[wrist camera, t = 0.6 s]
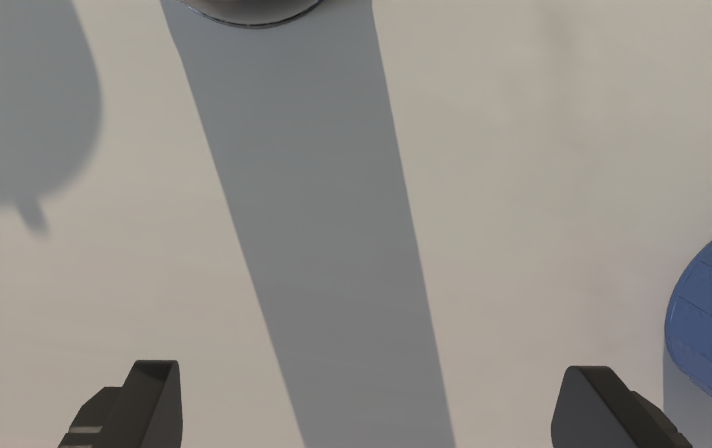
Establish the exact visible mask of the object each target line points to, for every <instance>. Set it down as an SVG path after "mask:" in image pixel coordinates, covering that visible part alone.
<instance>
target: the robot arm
mask: <svg viewBox="0 0 712 448" xmlns="http://www.w3.org/2000/svg"><path fill="white" fill-rule="evenodd" d="M177 1H179V2H181V3H183V4H185V5H186V6H187V7H189V8H190V9H192V10H193V11H195V12H197V13H198V14H200V15H202V16H204V17H206V18H208V19H211V20H213V21H215V22H218V23H221V24H224V25H227V26H231V27H236V28H243V29H266V28H272V27H277V26H281V25H284V24H287V23H290V22H292V21H294V20H297V19H298V18H300V17H302V16H304V15H306V14H307V13H308V12H310V11H311V10H313V9H314V8H315V7H316V6H318V5H319V4H320V3H321V2H322V1H323V0H177ZM182 430H183V419H182V403H181V387H180V372H179V364H178V362H177V361H176V360H137V361H136V362H135V363H134V365H133V367H132V369H131V371H130V373H129V375H128V376H127V378H126V380H125V382H124V384H123V386H122V387H104V388H103V389H102V390H100V391H99V392H98V393H97V394H96V395H94V396H93V397H92V398H91V399H90V400H88V401H87V402H86V403H85V404H84V405H83V406H82V407H81V408H80V410H79V412H78V414H77V415H76V417H75V419H74V420H73V422H72V424H71V426H70V427H69V431H68V433H66V434H65V436H64V438H63V439H62V441H61V443H60V444H59V446H58V448H180V447H181V441H182ZM551 438H552V444H553V447H554V448H692V445H691V444H690V443H689V442H688V440H687V439H686V438H685V437H684V436H683V435H682V434H681V433H678V432H677V428H676V427H675V426H674V425H673V423H672V422H671V421H670V420H669V419H668V418H667V417H666V415H665V414H664V413H663V412H662V411H661V410H660V409H659V408H658V407H656V406H655V405H654V404H652V403H651V402H649V401H648V400H647V399H645V398H644V397H642V396H641V395H640V394H638V393H637V392H635V391H630V390H629V389H628V388H627V387H626V385H625V384H624V383H623V382H622V381H621V380H620V378H619V377H618V376H617V375H616V374H615V372H614V371H613V370H612V369H611V368H609V367H607V366H570V367H568V368H567V370H566V372H565V374H564V378H563V381H562V385H561V389H560V393H559V396H558V400H557V404H556V408H555V411H554V415H553V419H552V423H551Z"/></svg>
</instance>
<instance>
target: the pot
mask: <svg viewBox="0 0 712 448" xmlns="http://www.w3.org/2000/svg"><path fill="white" fill-rule="evenodd" d="M665 335H666V343H667V346H668V350H669V352H670V354H671V357H672V359H673V361H674V362H675V363H676V365H677V366H678V368H679V369H680V370H681V371H683V372H684V373H685V374H686V375H687V376H688V377H689V378H690V379H691V380H692V382H693V383H695V384H696V385H697V386H698V387H700V388H701V389H702V390H703V391H705V392H706V393H707V394H708V395H710V396H711V397H712V241H711V242H710V243H708V244H707V245H706V246H705V247H704V248H703V249H702V250H701V251H700V252H699V253H698V254H697V256H696V257H695V258H694V259H693V260H692V261H691V263H690V264H689V265H688V267H687V268H686V270H685V271H684V272H683V274H682V275H681V277H680V279H679V281H678V283H677V284H676V286H675V289H674V291H673V293H672V296H671V298H670V302H669V305H668V309H667V314H666V320H665Z"/></svg>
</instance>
